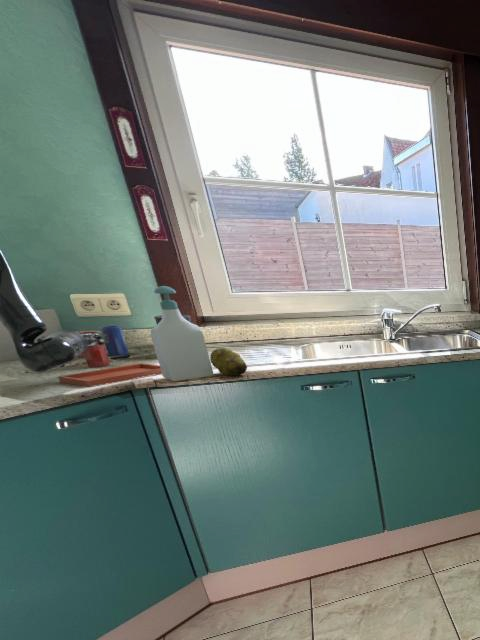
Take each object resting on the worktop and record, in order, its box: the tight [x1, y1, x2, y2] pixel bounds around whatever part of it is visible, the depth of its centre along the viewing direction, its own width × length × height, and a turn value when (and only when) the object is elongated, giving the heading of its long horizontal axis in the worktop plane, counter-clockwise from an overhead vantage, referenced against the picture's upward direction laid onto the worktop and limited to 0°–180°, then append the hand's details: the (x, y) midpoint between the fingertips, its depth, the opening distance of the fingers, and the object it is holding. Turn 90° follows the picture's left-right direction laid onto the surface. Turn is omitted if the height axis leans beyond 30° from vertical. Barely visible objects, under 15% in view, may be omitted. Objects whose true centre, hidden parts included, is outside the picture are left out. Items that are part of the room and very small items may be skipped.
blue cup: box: [99, 325, 131, 360], centre depth 175 cm, size 5×6×11 cm
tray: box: [57, 362, 162, 387], centre depth 152 cm, size 22×14×2 cm, turn 162°
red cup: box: [78, 331, 111, 369], centre depth 163 cm, size 5×6×11 cm
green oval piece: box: [209, 347, 248, 377], centre depth 159 cm, size 8×13×8 cm, turn 43°
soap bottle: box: [150, 285, 214, 382], centre depth 151 cm, size 11×8×27 cm
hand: (79, 337), depth 152 cm, fingers open, 8 cm apart
